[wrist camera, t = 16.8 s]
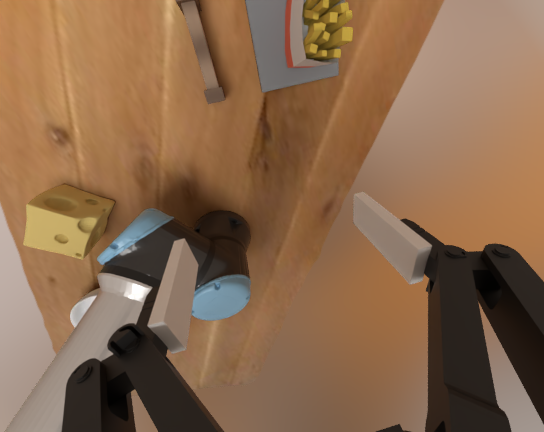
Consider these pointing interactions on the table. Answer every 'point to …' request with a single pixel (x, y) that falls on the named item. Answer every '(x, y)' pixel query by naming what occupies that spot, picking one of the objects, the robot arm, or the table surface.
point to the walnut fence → (201, 49)
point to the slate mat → (277, 48)
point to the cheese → (66, 221)
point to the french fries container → (315, 31)
